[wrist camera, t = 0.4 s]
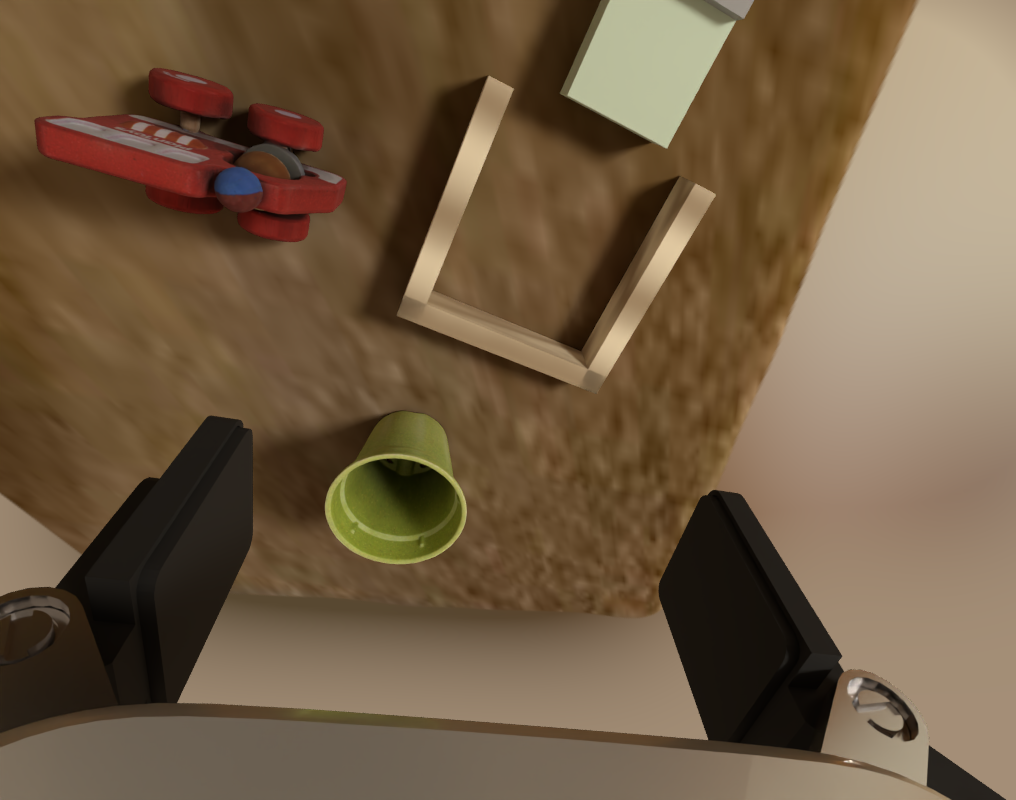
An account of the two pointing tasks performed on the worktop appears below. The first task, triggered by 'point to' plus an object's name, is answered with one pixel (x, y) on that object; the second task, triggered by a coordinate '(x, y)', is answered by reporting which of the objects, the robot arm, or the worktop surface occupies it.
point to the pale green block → (649, 60)
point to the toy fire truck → (205, 157)
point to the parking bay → (515, 340)
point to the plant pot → (398, 493)
